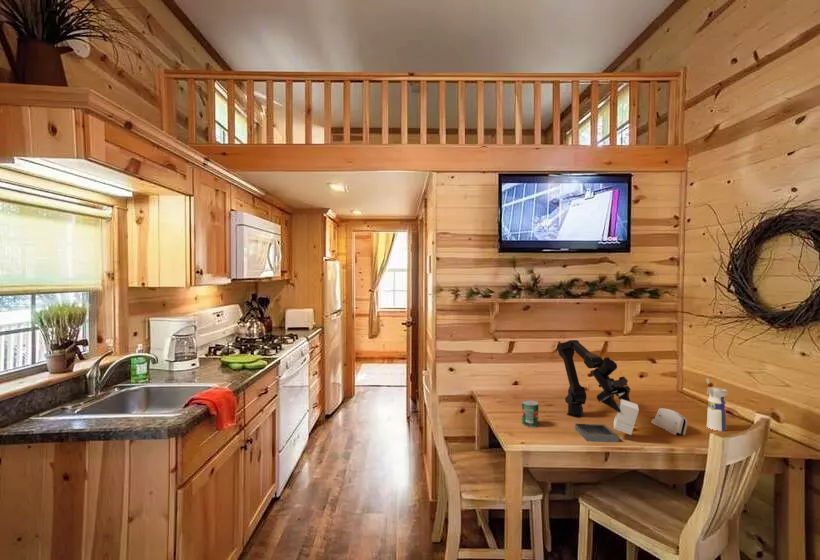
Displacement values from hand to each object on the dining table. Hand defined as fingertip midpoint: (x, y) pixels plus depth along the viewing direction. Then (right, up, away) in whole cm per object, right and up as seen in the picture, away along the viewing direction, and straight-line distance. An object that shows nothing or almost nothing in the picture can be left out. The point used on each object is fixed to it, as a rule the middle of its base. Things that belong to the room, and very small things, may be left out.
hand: (625, 410), depth 176 cm
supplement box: (-1, -9, +1) cm, 9 cm away
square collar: (-12, -13, +4) cm, 18 cm away
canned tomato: (-38, -13, +17) cm, 44 cm away
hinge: (+29, -14, +13) cm, 34 cm away
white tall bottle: (+52, -14, +13) cm, 55 cm away
